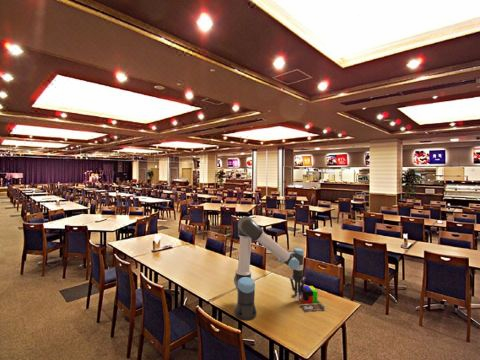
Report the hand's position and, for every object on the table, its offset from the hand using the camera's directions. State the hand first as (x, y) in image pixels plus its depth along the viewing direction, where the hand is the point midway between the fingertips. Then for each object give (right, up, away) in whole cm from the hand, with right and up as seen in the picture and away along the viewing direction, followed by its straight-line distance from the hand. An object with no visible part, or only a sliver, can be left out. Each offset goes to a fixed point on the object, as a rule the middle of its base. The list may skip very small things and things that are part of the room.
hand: (297, 299), depth 195 cm
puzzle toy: (+9, -2, +1) cm, 9 cm away
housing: (+8, -2, -3) cm, 8 cm away
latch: (+5, -1, -13) cm, 14 cm away
